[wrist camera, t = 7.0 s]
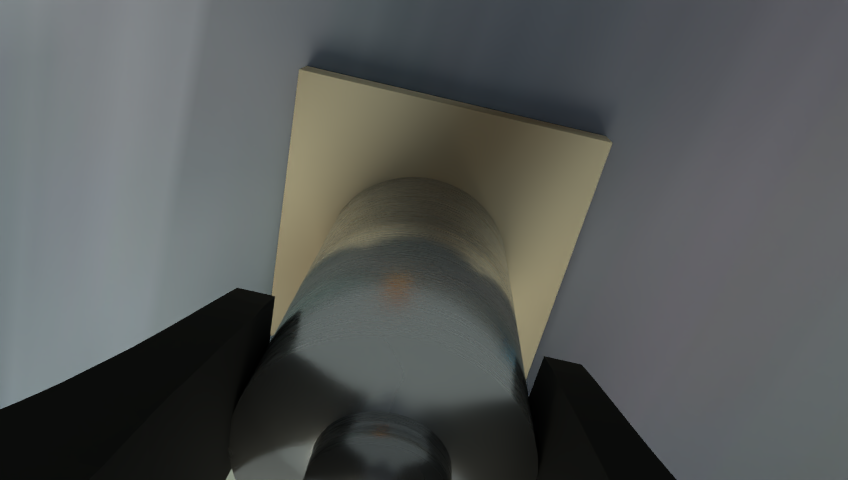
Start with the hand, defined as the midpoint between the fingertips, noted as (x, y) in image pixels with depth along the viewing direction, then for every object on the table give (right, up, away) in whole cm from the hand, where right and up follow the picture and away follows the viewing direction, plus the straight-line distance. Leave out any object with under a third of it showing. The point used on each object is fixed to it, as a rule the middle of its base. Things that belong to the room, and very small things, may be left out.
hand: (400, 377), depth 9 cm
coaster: (0, +2, +5) cm, 6 cm away
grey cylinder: (0, +2, +5) cm, 5 cm away
